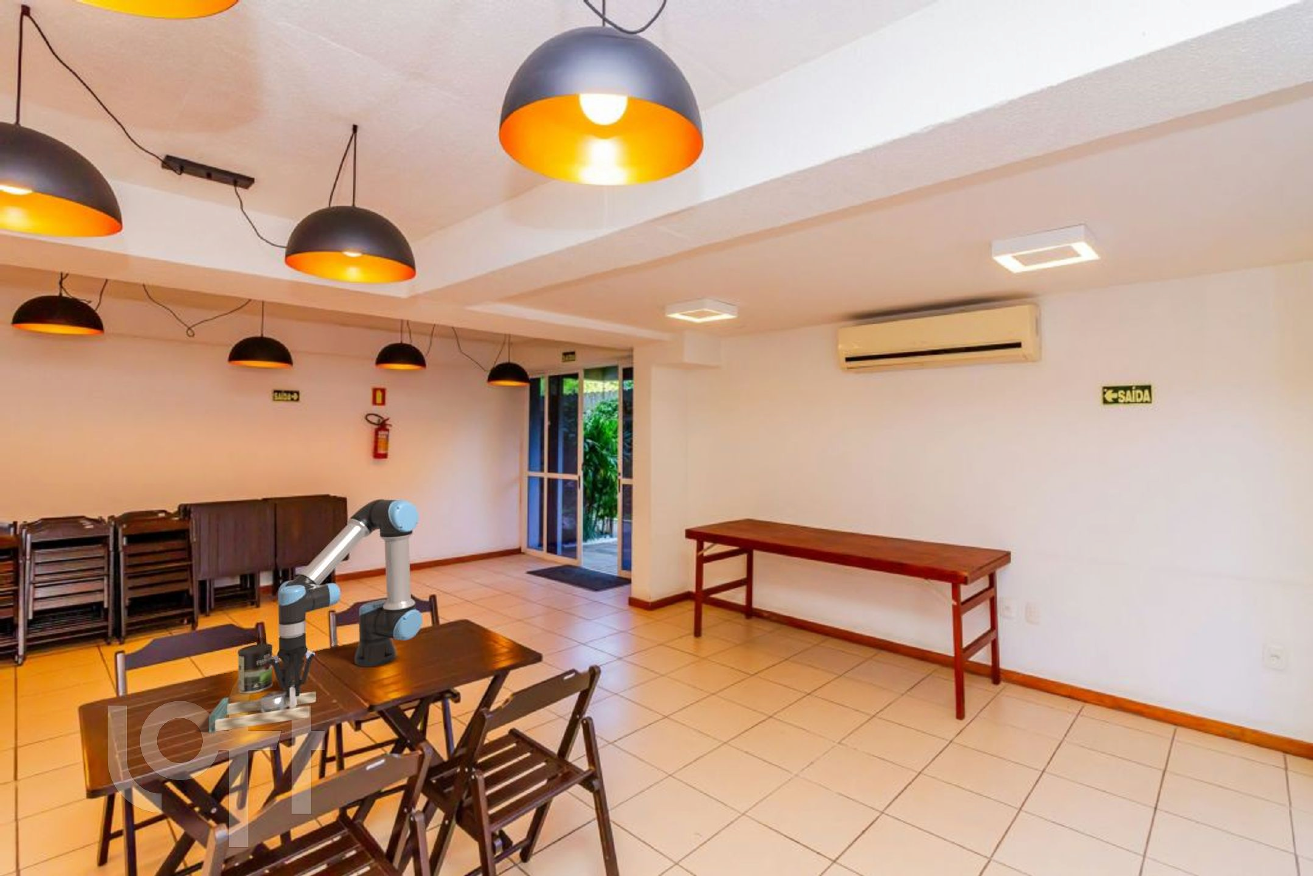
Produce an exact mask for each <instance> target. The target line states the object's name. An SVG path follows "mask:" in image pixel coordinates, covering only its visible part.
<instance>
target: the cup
mask: <svg viewBox="0 0 1313 876" xmlns="http://www.w3.org/2000/svg"><path fill="white" fill-rule="evenodd" d="M279 664H280V667H281V670H282V674H283V677H284V680H285V682H286V675H285V663H284V662H283V661H282V660H281V661H279ZM305 664H306V660H305V659H304V658H302V660H301V661H300V676H301V674H302V671H303V668H304V667H305ZM291 683H292V684H291V685H295V670H294V663H291ZM282 691H284V692H286V688H285V687H282Z"/></svg>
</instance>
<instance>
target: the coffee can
mask: <svg viewBox="0 0 1313 876" xmlns="http://www.w3.org/2000/svg"><path fill="white" fill-rule="evenodd" d="M237 654H238V655H237V659H238V661H237V663H238V693H240V694H243V695H245V694H247V695H248V694H255V693H260V692H262V691H265V690H268V689H270V688H271V687H272V686H273V684H274V683H273V666H272V665H271V663H270V662H269V661H270V659H271V658H272V657H273V645H272V644H270V643H257V644H251V645H248V646H247V645H246V646H244V647H242V648H240V649H238V651H237Z"/></svg>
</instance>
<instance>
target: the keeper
mask: <svg viewBox="0 0 1313 876" xmlns="http://www.w3.org/2000/svg"><path fill="white" fill-rule="evenodd" d="M260 699H261V710H260V713H265V712H272V711H278V710H285V709H287V706H286V692H284V691H283V690H277V691H272V692H267V693H265V694H264V695H262V696H261V697H260Z"/></svg>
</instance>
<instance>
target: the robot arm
mask: <svg viewBox="0 0 1313 876" xmlns="http://www.w3.org/2000/svg"><path fill="white" fill-rule="evenodd" d="M418 522H419V512H418V509H417V507H416V506H415V505H414V504H413V503H412V502H410V501H405V500H402V499H398V500H397V499H384V498H383V499H382V498H381V499H379V498H378V499H375V500H372V501H370V502H368V503H366V504H365V505H363V506H362V507H360V508H359V509H358V510H357V511H356V512H355V513H353V514H352V516H350V518H349V519H348V520H347V525H346V526H345V527H344V528H343V529H342V530H341V531H340V532H339V533H338V534H337V535H336V536H335V537H333V539H332V540H331V541H330V542H329V543H328V544H327V545H326V546H325V548H324V549H323V550H321V552H319V553H318V555H317V556H316V557H315V558H314V559H312V561H311V562H310V563H309V564H308V565H307V566H306V567H305V568H304V569H303V570H302V571H301V572H300V573H299V574H298V575H297V576H296V577H295V578H294V579H293V580H288V581H284V582H283V583H282V584H281V585H280V587H278V591H277V592H278V593H277V595H278V596H277V597H278V599H277V600H278V601H277V606H278V608H277V609H278V610H277V611H278V636H279V637H278V651H277V653H276V655H274V656H272V658H271V659H270V661H269V662H270V663H271V665H272V669H273V670H274V674H275V677H276V680H277V683H278V685H279V686H278V687H279V688H283V687H285V688H286V697H287V698H289V697H290V706H289V709H292V708H297V696H299V694H301V686H302V685H304V684H306V682H307V680H308V676H309V671H310V668H311V664H312V661H313V659H314V657H315V655H316V652H315V651H310V650H309V649H308V646H307V639H306V638H307V633H305V632H306V626H307V625H306V624H307V623H306V615H307V613H309V612H313V611H316V610H321V609H325V608H329V607H331V606H333V605H336V604H338V603H339V601H340V599H341V595H342V594H341V589H340V587H339V586H338V585H337V584H336V583H333V582H331V583H325V584H322V583H323V581H324V580H325V579H326V578H327V577H328V576H329V575H331V573H332V572H333V570H335V569H336V567H338V565H339V564H340V563H341V562H342V561H343V560H344V559H345V558H346V557H347V556H348V554H350V552H351V551H352V550H353V549H354V548H355V547H356V546H357V545H358V544H359V542H361V541H362V539H363V538H364V537H365V538H367V537H369V536H370V535H371V534H372V533H373V532H374V531H376V530H379V537H380V539H382V540H383V541H384V557H385V558H384V561H385V562H384V563H385V583H386V584H385V586H386V599H379V600H373V601H370V602H366V603H364V604H362V605H361V606H360V607H359V610H358V630H359V632H358V637H359V641H358V646H357V648H356V652H355V655H354V665H356V666H359V667H363V668H364V667H376V666H381V665H385V664H389V663H391V662H393V661H395V659H397V649H396V646H395V644H394V642H393V640H397V641H409V640H411V639H412V638H414V637H415V636H416V635H417V634H418V632H419V631H420V629H421V627H422V625H423V615H422V613H421V612H420V611H419V609H418V610H417V609H416V601H415V600H414V599H413V598H412V596H411V595H412V591H411V589H412V587H411V567H410V563H411V561H410V542H409V538H410V537H411V536H412V535H413V533H414V532H413V530H414V529H415V528H417V524H418ZM304 657H305V658H306V661H305V664H304V670H303V674H302V676H301V675H300V661H301V660H302V659H304ZM280 661H281V662H282V661H283V662H284V663H285V675H286V682H285V680H284V677H283V674H282V670H281V667H280V664H279V663H280ZM291 663H294V670H295V685H291V684H292V683H291ZM301 677H302V678H301Z"/></svg>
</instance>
